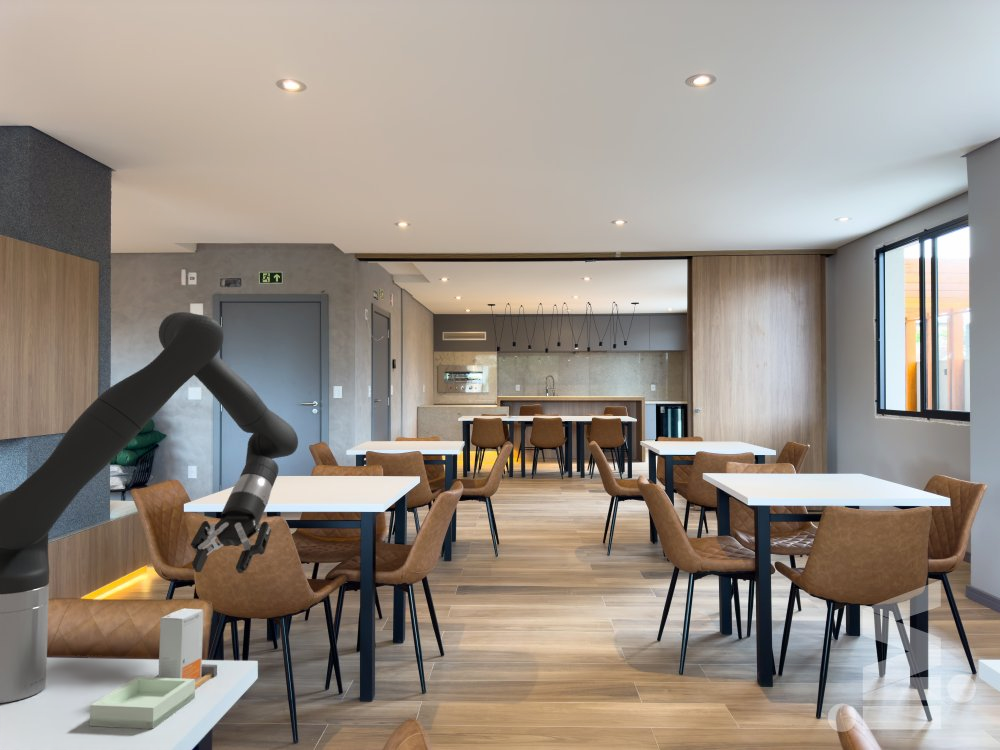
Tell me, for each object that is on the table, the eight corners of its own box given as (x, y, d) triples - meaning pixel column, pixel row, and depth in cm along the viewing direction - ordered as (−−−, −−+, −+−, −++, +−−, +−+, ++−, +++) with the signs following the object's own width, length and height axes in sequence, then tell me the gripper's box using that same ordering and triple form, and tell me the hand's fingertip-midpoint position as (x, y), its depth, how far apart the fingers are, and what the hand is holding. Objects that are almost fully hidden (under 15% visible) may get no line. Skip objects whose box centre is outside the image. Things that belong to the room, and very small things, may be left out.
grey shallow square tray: (141, 694, 112) (141, 683, 112) (174, 673, 121) (174, 663, 121) (187, 696, 111) (187, 685, 111) (216, 675, 120) (217, 664, 120)
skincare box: (179, 692, 113) (181, 619, 114) (157, 690, 114) (159, 617, 114) (203, 678, 119) (204, 608, 119) (181, 677, 120) (182, 607, 120)
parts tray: (89, 725, 101) (90, 705, 101) (137, 695, 112) (137, 676, 112) (153, 728, 100) (153, 707, 100) (194, 697, 111) (195, 678, 111)
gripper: (208, 489, 139) (174, 558, 127) (275, 490, 137) (247, 559, 125) (221, 512, 144) (189, 580, 132) (286, 513, 142) (260, 582, 130)
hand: (217, 570), depth 129 cm, fingers open, 8 cm apart
